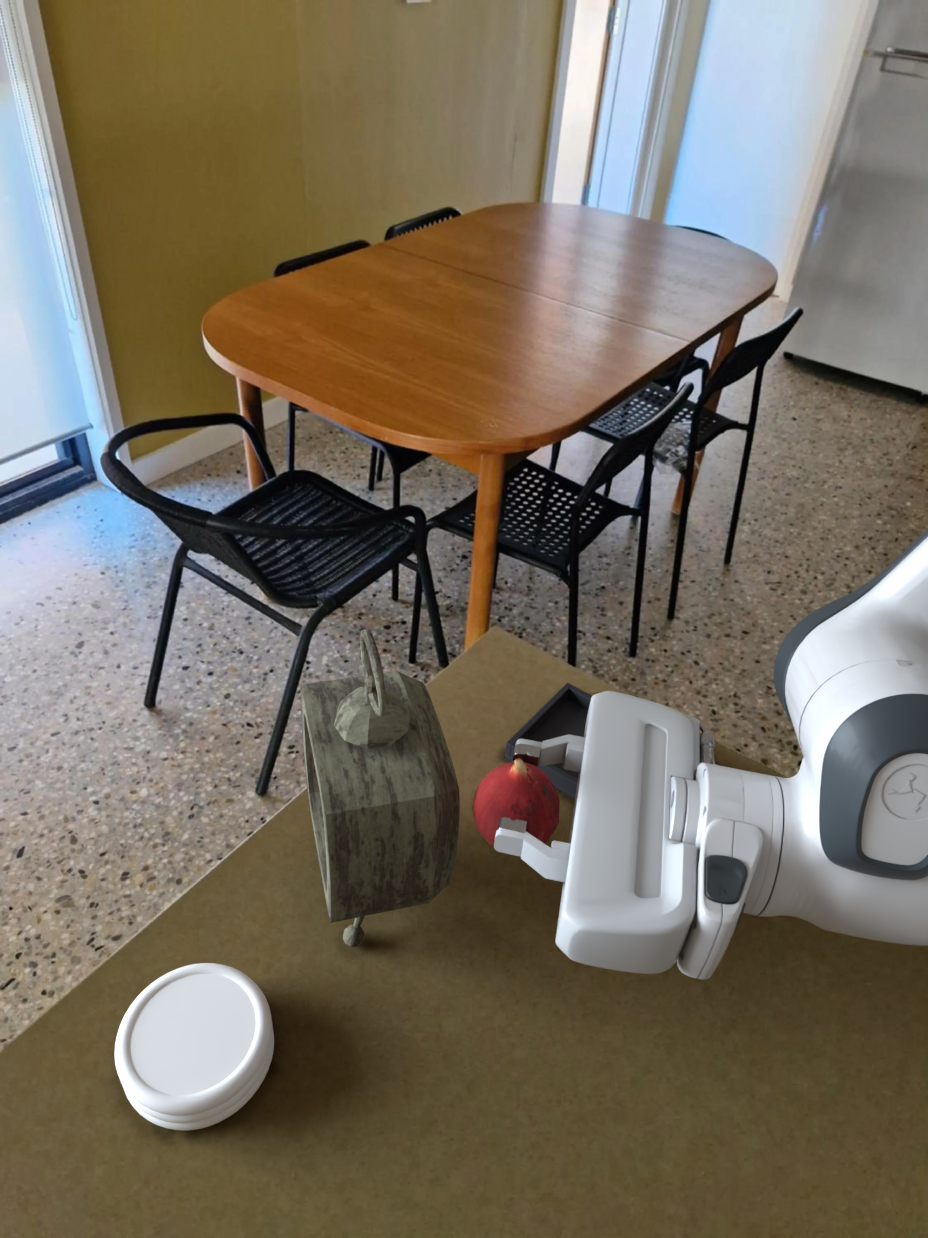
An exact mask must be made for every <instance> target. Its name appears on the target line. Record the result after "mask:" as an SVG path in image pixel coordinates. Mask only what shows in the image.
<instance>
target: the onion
mask: <svg viewBox="0 0 928 1238" xmlns="http://www.w3.org/2000/svg"><path fill="white" fill-rule="evenodd" d="M560 800H561V799H560V796H559V793H558V792H557V788H555V787H554V786H553V784H552V782H551V780H550V778H549V777H548V776H547V775H546V774H545V773H544V772H543V771H542V770H540V769H539V768H538V767H536V766H534V765H531V764H529V763H526V762H524V761H523V760H522V759H521V758H517V759H516V760H515V761H513V762H512V761H509V762H504V763H501V764H500V765H498V766H496V767H495V768H493V769H491V770H490V771H488V772H487V773H486V775H485V776H484V777H483V779H482V780H481V782H480V783H479V784H478V785H477V787H476V790H475V793H474V797H473V801H472V806H471V809H472V813H473V814H472V815H473V819H474V823H475V826H476V830H477V832H479V834H480V835H481V836H482V837H483V838H484V839H485V841H487V843H488V844H489V845H490V846H493V847H494V841H495V835H496V830H497V826H498V822H499V819H500V818H502V817H509V818H511V819H512V820H515V819H519V820H524V821H527V824H526V830H525V832H528V833H529V834H531V835H532V836H534V837H535V838H537V839H538V840H540V841H541V842H543V843H544V844H547V843H548V842H549V841H550V839H551V837H552V836H553V834H554V833H555V832H556V829H557V828H558V826H559V825H558V824H559V823H560V807H561V806H560V803H561V802H560Z"/></svg>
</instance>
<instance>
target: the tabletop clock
mask: <svg viewBox="0 0 928 1238" xmlns="http://www.w3.org/2000/svg"><path fill="white" fill-rule="evenodd" d="M359 644H360V646H359V647H360V659H361V660H360V661H361V668H362V673H363V675H361V676H353V677H344V678H338V679H330V680H323V681H322V680H321V681H316V682H314V681H313V682H307V683H301V684H300V692H299V693H300V713H301V715H300V716H301V732H302V744H303V745H302V746H303V757H304V758H303V759H304V770H305V782H306V791H307V798H308V799H307V800H308V806H309V811H310V818H311V825H312V831H313V836H314V843H315V849H316V854H317V861H318V865H319V871H320V875H321V883H322V888H323V894H324V900H325V903H326V909H327V914H328V919H329V923H331V924H332V923H336V922H342V921H346V920H353V919H354V921H353V924H350V925H348V926H347V927H346V928H345V929H344V930H343V933H342V940H343V942H344V944H345V945H347V946H348V947H351V948H357V947H358V946H359V945H361V944H362V943H363V942H364V938H365V931H364V930H363V928H362V927H361V926H362V923H363V922H364V919H365V917H367V916H371V915H377V914H382V913H387V912H391V911H396V910H397V911H398V910H402V909H406V908H411V907H416V906H421V905H426V904H429V903H431V902H432V900H434V899H435V898H436V897H437V896H438V895H440V893H442V892H443V891H444V890H445V889H446V888H447V887H448V886H449V885H450V884H451V883H452V882H453V878H454V873H455V865H456V861H457V854H458V853H457V852H458V842H459V830H460V829H459V828H460V817H461V815H460V814H461V813H460V812H461V808H460V807H461V802H460V801H461V800H460V788H459V787H460V786H459V782H458V778H457V773H456V769H455V766H454V763H453V760H452V756H451V753H450V750H449V747H448V744H447V741H446V737H445V734H444V730H443V729H442V726H441V722H440V720H439V717H438V715H437V712H436V709H435V707H434V704H433V701H432V699H431V696H430V693H429V691H428V688H427V687H426V685H425V683H424V682H423V681H421V680H418V679H416V678H414V677H411V676H409V675H407V674H404V673H403V672H400V671H391V672H384V669H383V664H382V659H381V656H380V655H381V654H380V652H379V649H378V645H377V642H376V639H375V638H374V635H373V633H372V632H371V630H370V629H367V628H365V629H362V630H361V631H360V635H359Z"/></svg>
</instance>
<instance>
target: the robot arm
mask: <svg viewBox="0 0 928 1238" xmlns="http://www.w3.org/2000/svg"><path fill="white" fill-rule="evenodd" d="M773 665H774V666H773V685H774V689H775V692H776V693H775V694H776V695H777V698H778V701H779V702H780V704H781V706H782V708H783V710H784V711H785V714H786V716H787V718H788V720H789V721H790V723H791V724H792V726H793V729H794V733H795V735H796V739H797V742H798V746H799V748H800V751H801V753H802V757H803V758H802V759H801V763H800V766H799V770H798V772H797V773H796V774H794V775H793V776H791V777H781V776H777V775H772V774H771V775H770V774H767V773H760V772H756V771H751V770H745V769H739V768H735V767H729V766H725V765H722V766H720V765H721V764H720V765H715V762H716V760H715V749H716V741H715V740H716V739H715V737H714V734H713V733H712V732H710V731H708V729H707V727H706V726H705V725H704V724H703V723H702V722H700V720H699V718H697V717H695V716H693V715H689V714H684V713H683V712H681V711H680V710H677V709H675V708H673V707H671V706H667V705H665V704H661V703H659V702H655V701H652V700H649V699H645V698H642V697H639V696H635V695H630V694H626V693H623V692H618V691H614V690H605V691H601V692H598V693H595V694H592V697H591V701H590V705H589V709H588V714H587V719H586V725H585V732H584V737H580V736H575V735H570V734H568V735H564V736H560V737H556V738H553V739H549V740H545V741H543V742H538V741H533V740H527V739H522V738H521V739H518V740H517V741H516V745H515V749H514V755H513V761H515V760H516V759H517V758H521V759H522V760H523V761H524V762H526V763H529V764H531V765H534V766H536V767H538V766H545V765H551V764H557V763H564V765H563V768H564V769H566V770H571V771H576V772H579V775H578V782H577V789H576V796H575V799H574V802H573V803H574V805H573V811H572V818H571V826H570V833H569V841H568V842H565V841H560V840H556V839H555V840H552V841H551V845H550V846H549V845H547V843H545V844H544V843H543V842H541V841H540V840H538V839H537V838H535V837H534V836H532V835H531V834H529V833H528V832H525V830H526V824H527V821H524V820H519V819H515V820H512V819H511V818H509V817H502V818H500V819H499V822H498V826H497V830H496V835H495V841H494V846H493V849H494V850H495V851H496V852H498V853H502V854H505V855H511V856H514V857H515V856H516V857H520V859H521V860H522V861H523V862H525V863H526V865H528V866H529V867H530V868H532V869H533V870H534V872H537V874H539V875H540V876H542V877H543V879H546V880H551V881H556V882H560V883H562V889H561V898H560V903H559V904H560V905H559V910H558V918H557V924H556V925H557V926H556V933H555V940H554V941H555V946H557V948H558V949H559V950H560V951H561V952H562V953H563V954H564V955H565V956H566V957H567V958H569V959H570V960H571V961H573V962H574V963H579V964H582V965H585V966H590V967H595V968H599V969H606V970H611V971H618V972H624V973H632V974H641V975H655V974H661V973H664V972H667V971H669V970H670V969H671V968H672V967H673V966H674V965H675V964H676V965H677V968H678V970H679V972H681V974H683V975H685V976H687V977H689V978H692V979H698V980H702V981H703V980H708V979H710V978H711V977H712V976H713V974H714V973H715V971H716V969H717V968H718V966H719V965H720V963H721V962H722V961H721V960H722V959H723V956H724V955H725V953H726V951H727V949H728V946H729V944H730V942H731V939H732V938H733V934H734V932H735V931H736V929H737V927H738V925H739V923H740V922H741V920H742V917H743V914H746V915H750V916H756V917H761V918H766V917H768V918H769V917H780V916H781V917H783V916H784V917H792V918H796V919H800V920H802V921H803V920H804V921H806V922H808V923H810V924H812V925H814V926H815V927H817V928H819V929H822V930H823V931H827V932H831V933H835V934H841V935H844V936H850V937H856V938H859V939H860V938H861V939H865V940H870V941H876V942H883V943H888V944H889V943H891V944H896V945H906V946H907V945H908V946H919V947H928V528H926V529H925V530H924V531H923V532H922V533H921V534H920V535H919V536H918V537H917V538H915V540H914V541H912V543H911V544H910V545H909V546H907V547H906V548H905V549H904V550H903V551H902V552H901V553H900V554H898V556H897V557H896V558H894V559H893V561H891V562H890V563H889V564H888V565H887V566H886V567H885V568H884V569H882V570H881V571H880V572H879V573H878V574H876V575H875V576H874V577H873V578H872V579H870V580H869V581H867V582H866V583H864V584H863V585H861V586H860V587H858V588H856V589H855V590H853V591H851V592H849V593H847V594H845V595H843V596H841V597H839V598H837V599H835V600H832V601H831V602H828V603H826V604H824V605H823V606H821V607H819V608H818V609H816V610H814V611H813V612H811V613H809V614H808V615H806V616H805V617H804V618H802V619H801V620H800V621H799V622H797V623H796V624H795V625H794V626H793V627H792V629H791V630H790V631H789V632H788V633H787V635H786V636H785V638H784V639H783V640H782V642H781V644H780V645H779V648H778V651H777V654H776V657H775V661H774V664H773ZM700 732H701V733H700ZM513 761H511V762H513Z"/></svg>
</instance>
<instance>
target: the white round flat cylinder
mask: <svg viewBox="0 0 928 1238" xmlns="http://www.w3.org/2000/svg"><path fill="white" fill-rule="evenodd" d="M274 1050H275V1033H274V1027H273V1019H272V1013H271V1009H270V1005H269V1003H268V1000H267V998H266V996H265V993H264V992H263V990H262V989H261V988H260V987H259V985H258V984H257V983H256V981H254V980H253V979H252V978H251V977H250V976H249V975H247V974H246V973H245V972H242V971H241V970H239V969H237V968H234V967H233V966H229V965H226V964H222V963H215V962H199V963H192V964H187V965H184V966H181V967H178V968H175V969H173V970H171V971H169V972H167V973H165V974H163V975H161V976H160V977H158V978H157V979H155V980H154V981H153V982H151V983H150V984H149V985H148V986H146V987H145V988H144V989H143V990H142V991H141V992H140V993H139V994H138V995H137V996H136V997H135V999H134V1000H133V1001H132V1003H131V1004H130V1005H129V1007H128V1008H127V1011H126V1012H125V1013H124V1015H123V1018H122V1020H121V1022H120V1024H119V1027H118V1030H117V1034H116V1038H115V1043H114V1054H113V1055H114V1065H115V1069H116V1073H117V1075H118V1078H119V1081H120V1084H121V1086H122V1088H123V1091H124V1094H125V1096H126V1099H127V1100H128V1101H129V1103H130V1105H131V1106H132V1108H133V1109H134V1110H135V1111H136V1112H137V1113H138V1114H139V1116H141V1117H143V1118H144V1119H145V1120H146V1121H148V1122H151V1123H152V1124H154V1125H156V1126H159V1127H162V1128H163V1129H167V1130H173V1131H194V1130H195V1131H196V1130H201V1129H205V1128H209V1127H211V1126H214V1125H216V1124H219V1123H221V1122H222V1121H225V1120H227V1119H228V1118H230V1117H231V1116H233V1115H235V1114H236V1113H237V1112H239V1110H240V1109H242V1108H243V1107H244V1106H245V1105H246V1104H247V1103H248V1102H249V1101H250V1100H251V1099H252V1097H254V1095H255V1094H256V1092H257V1091H258V1090H259V1088H260V1087H261V1085H262V1083H263V1082H264V1080H265V1078H266V1076H267V1074H268V1072H269V1070H270V1066H271V1063H272V1060H273V1055H274Z"/></svg>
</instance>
